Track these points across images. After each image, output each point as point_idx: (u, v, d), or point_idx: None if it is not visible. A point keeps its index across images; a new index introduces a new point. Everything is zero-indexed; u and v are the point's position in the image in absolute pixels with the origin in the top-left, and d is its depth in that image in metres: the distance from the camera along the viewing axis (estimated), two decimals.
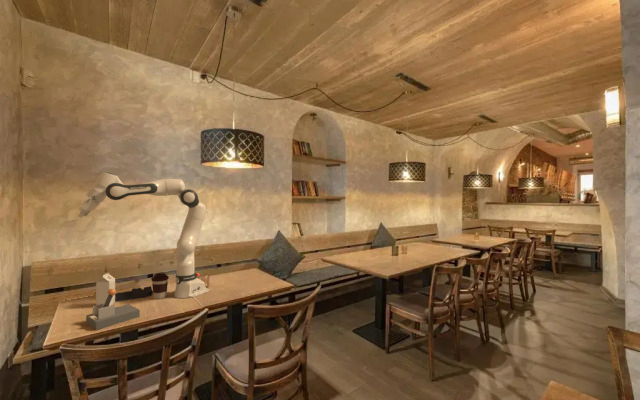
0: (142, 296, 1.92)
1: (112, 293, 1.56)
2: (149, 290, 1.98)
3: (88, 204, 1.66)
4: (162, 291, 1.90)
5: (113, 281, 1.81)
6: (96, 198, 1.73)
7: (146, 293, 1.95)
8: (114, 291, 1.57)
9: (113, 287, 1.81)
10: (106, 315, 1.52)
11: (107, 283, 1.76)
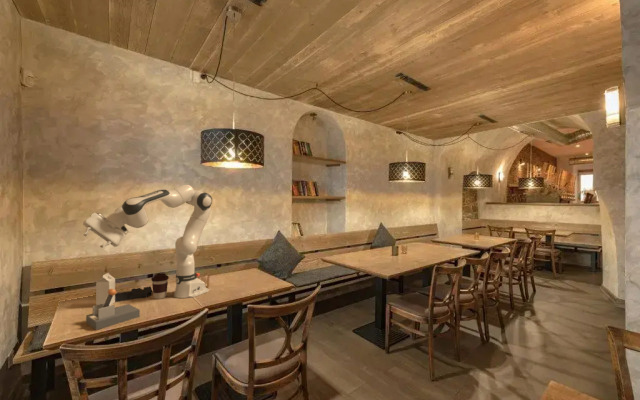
0: (142, 296, 1.92)
1: (112, 293, 1.56)
2: (149, 290, 1.98)
3: (90, 217, 1.54)
4: (162, 291, 1.90)
5: (113, 281, 1.81)
6: (106, 218, 1.59)
7: (146, 293, 1.95)
8: (114, 291, 1.57)
9: (113, 287, 1.81)
10: (106, 315, 1.52)
11: (107, 283, 1.76)
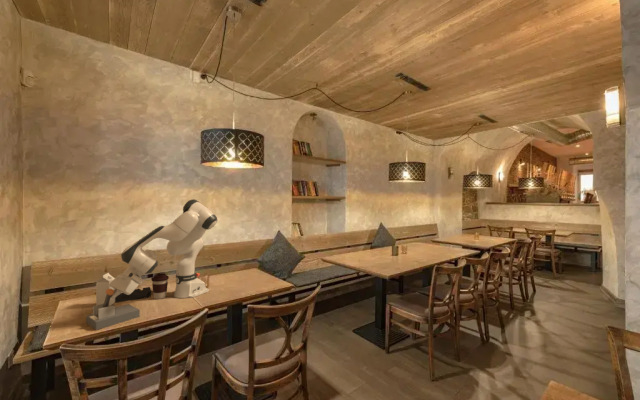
0: (141, 297, 1.91)
1: (110, 293, 1.55)
2: (148, 291, 1.97)
3: None
4: (162, 291, 1.90)
5: None
6: None
7: (145, 294, 1.93)
8: (112, 291, 1.56)
9: None
10: (106, 315, 1.52)
11: (107, 283, 1.76)
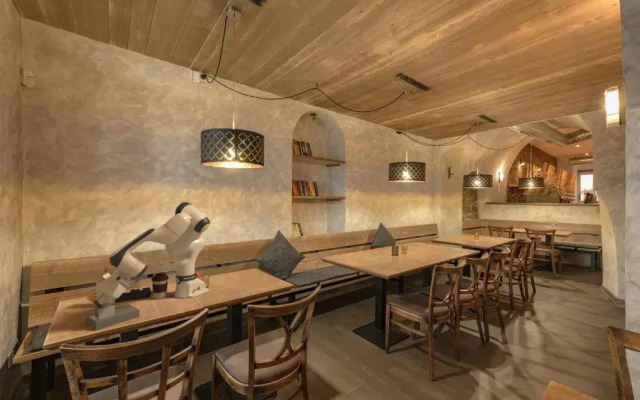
0: (141, 297, 1.90)
1: (93, 299, 1.49)
2: (148, 291, 1.96)
3: None
4: (162, 291, 1.90)
5: None
6: None
7: (145, 294, 1.93)
8: (93, 297, 1.49)
9: None
10: (106, 315, 1.52)
11: None
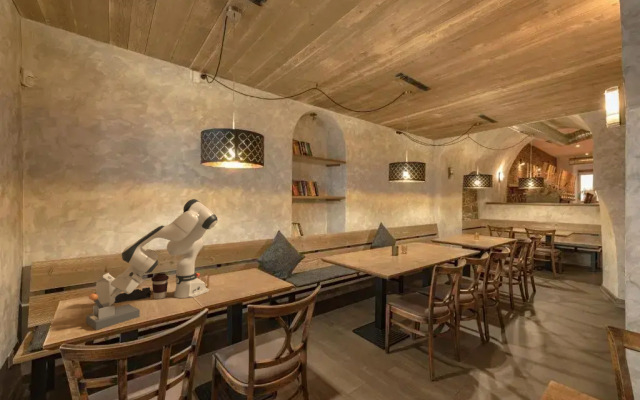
0: (141, 297, 1.90)
1: (94, 298, 1.49)
2: (148, 291, 1.96)
3: None
4: (162, 291, 1.90)
5: None
6: None
7: (145, 294, 1.93)
8: (94, 296, 1.49)
9: (113, 287, 1.81)
10: (106, 315, 1.52)
11: (107, 283, 1.76)
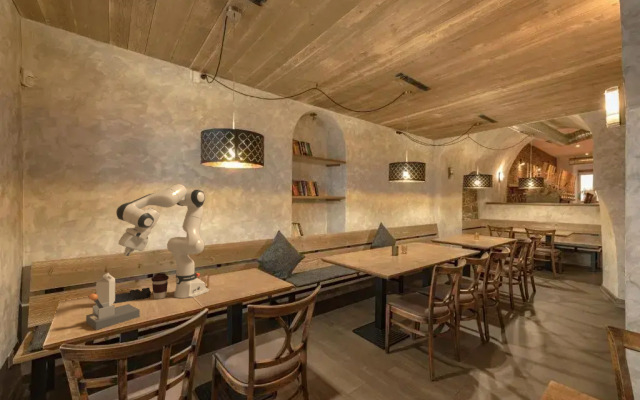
0: (141, 297, 1.89)
1: (94, 298, 1.49)
2: (147, 291, 1.95)
3: None
4: (162, 291, 1.90)
5: (113, 281, 1.81)
6: None
7: (144, 294, 1.92)
8: (94, 296, 1.49)
9: (113, 287, 1.81)
10: (106, 315, 1.52)
11: (107, 283, 1.76)
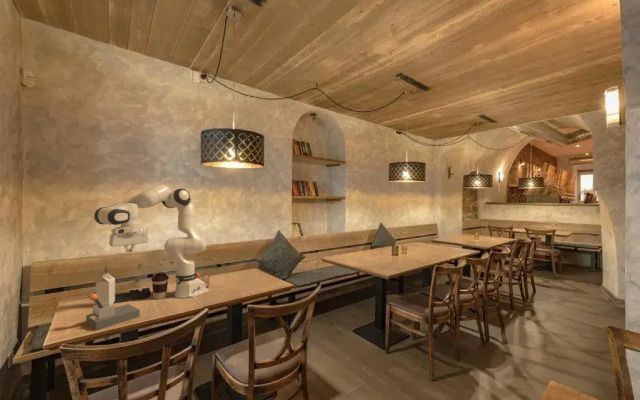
0: (140, 298, 1.89)
1: (94, 298, 1.49)
2: (147, 291, 1.95)
3: None
4: (162, 291, 1.90)
5: (113, 281, 1.80)
6: None
7: (144, 295, 1.92)
8: (94, 296, 1.49)
9: (113, 287, 1.80)
10: (106, 315, 1.52)
11: (107, 283, 1.75)
